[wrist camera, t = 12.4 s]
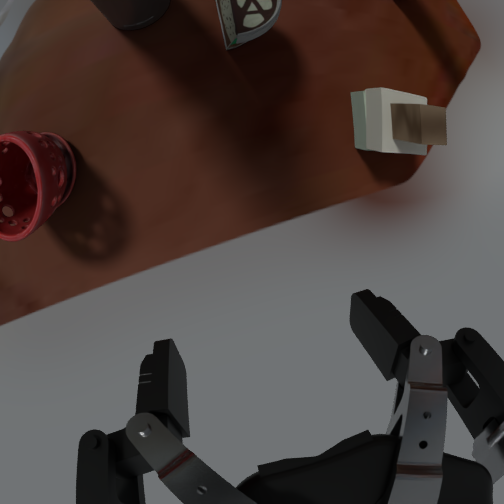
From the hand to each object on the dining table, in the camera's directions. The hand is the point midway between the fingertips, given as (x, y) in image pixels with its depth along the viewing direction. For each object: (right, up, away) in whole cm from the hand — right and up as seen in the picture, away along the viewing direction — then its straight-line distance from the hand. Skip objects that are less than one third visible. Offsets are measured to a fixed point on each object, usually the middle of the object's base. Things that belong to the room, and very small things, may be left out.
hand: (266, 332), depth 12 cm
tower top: (+20, +23, +23) cm, 38 cm away
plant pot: (-31, +15, +20) cm, 40 cm away
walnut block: (+20, +21, +20) cm, 35 cm away
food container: (-2, +35, +17) cm, 39 cm away
